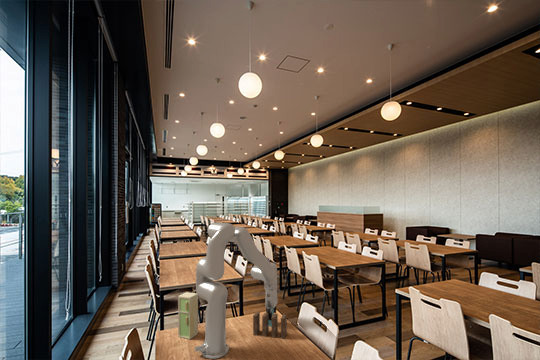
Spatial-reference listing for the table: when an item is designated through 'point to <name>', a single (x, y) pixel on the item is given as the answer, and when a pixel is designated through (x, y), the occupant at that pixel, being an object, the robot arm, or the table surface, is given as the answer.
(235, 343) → the table surface
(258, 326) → the domino
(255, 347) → the table surface
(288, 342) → the table surface
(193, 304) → the toy refrigerator
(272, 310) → the domino
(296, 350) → the table surface
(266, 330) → the domino
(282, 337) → the domino
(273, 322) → the domino
